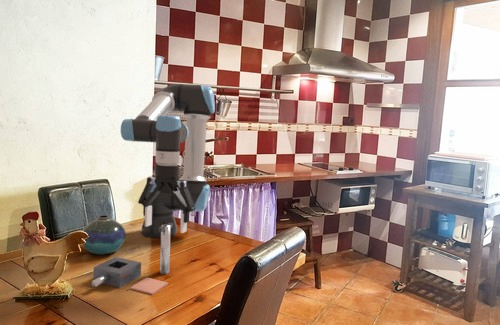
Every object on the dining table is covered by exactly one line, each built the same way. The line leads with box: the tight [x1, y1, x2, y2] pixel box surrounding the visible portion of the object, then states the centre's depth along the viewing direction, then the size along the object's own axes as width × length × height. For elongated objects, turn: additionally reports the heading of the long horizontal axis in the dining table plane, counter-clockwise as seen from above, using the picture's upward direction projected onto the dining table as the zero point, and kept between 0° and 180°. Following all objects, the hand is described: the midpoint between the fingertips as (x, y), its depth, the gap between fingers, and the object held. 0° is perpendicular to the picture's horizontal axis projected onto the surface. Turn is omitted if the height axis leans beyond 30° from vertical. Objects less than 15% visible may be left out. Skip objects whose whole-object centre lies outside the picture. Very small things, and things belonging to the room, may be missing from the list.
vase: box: [82, 214, 126, 256], centre depth 145 cm, size 15×15×13 cm
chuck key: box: [159, 223, 173, 275], centre depth 129 cm, size 6×3×16 cm, turn 158°
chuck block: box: [91, 256, 142, 289], centre depth 121 cm, size 15×10×4 cm, turn 158°
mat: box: [129, 277, 169, 296], centre depth 119 cm, size 8×8×1 cm
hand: (165, 228), depth 128 cm, fingers open, 13 cm apart
